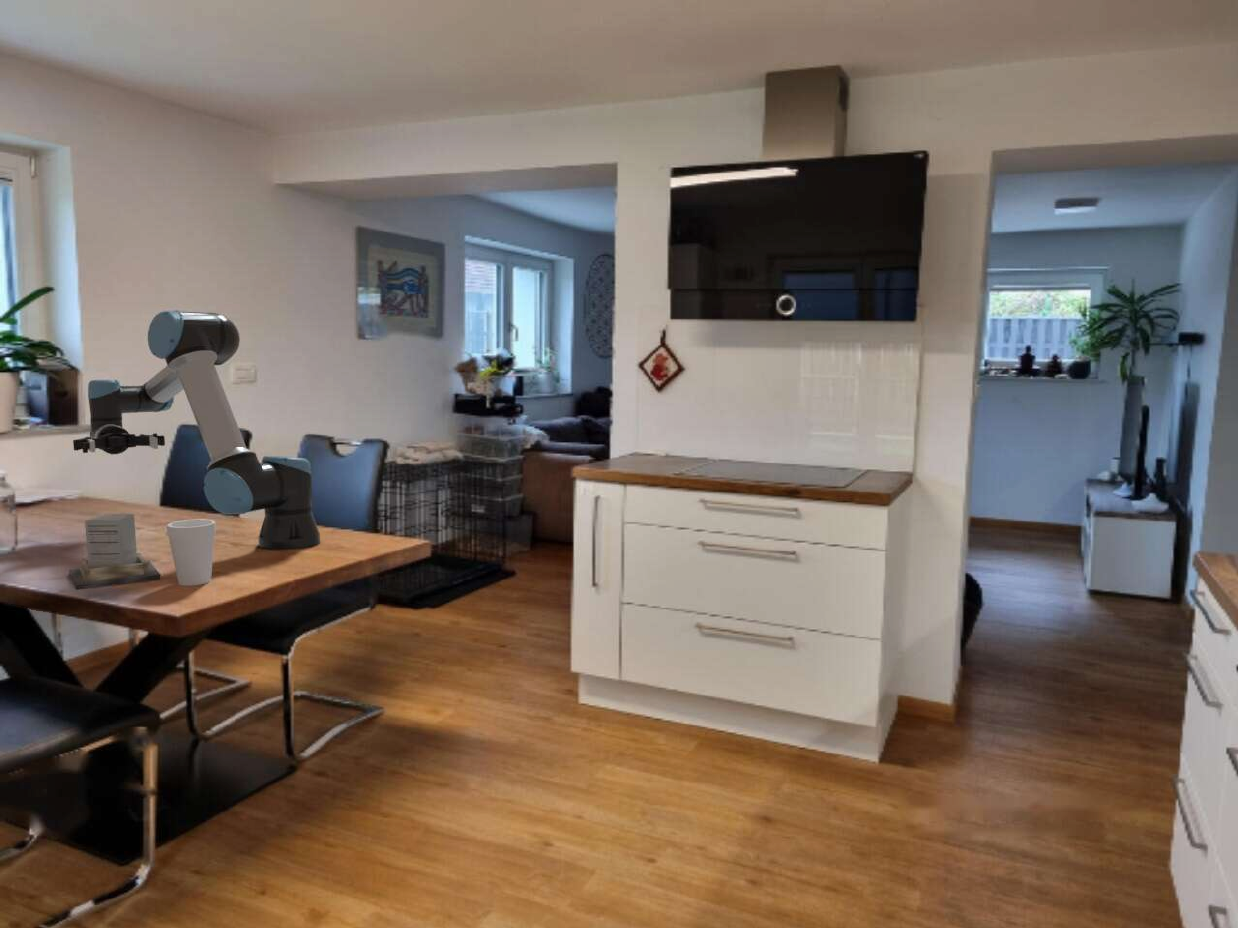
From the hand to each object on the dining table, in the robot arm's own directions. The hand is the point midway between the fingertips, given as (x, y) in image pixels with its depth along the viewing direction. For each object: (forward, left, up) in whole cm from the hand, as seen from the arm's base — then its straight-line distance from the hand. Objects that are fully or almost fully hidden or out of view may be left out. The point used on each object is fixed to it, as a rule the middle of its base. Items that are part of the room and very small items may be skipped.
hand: (125, 445), depth 213 cm
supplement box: (-15, +21, -26) cm, 37 cm away
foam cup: (-35, +20, -27) cm, 49 cm away
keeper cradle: (-15, +21, -27) cm, 37 cm away
